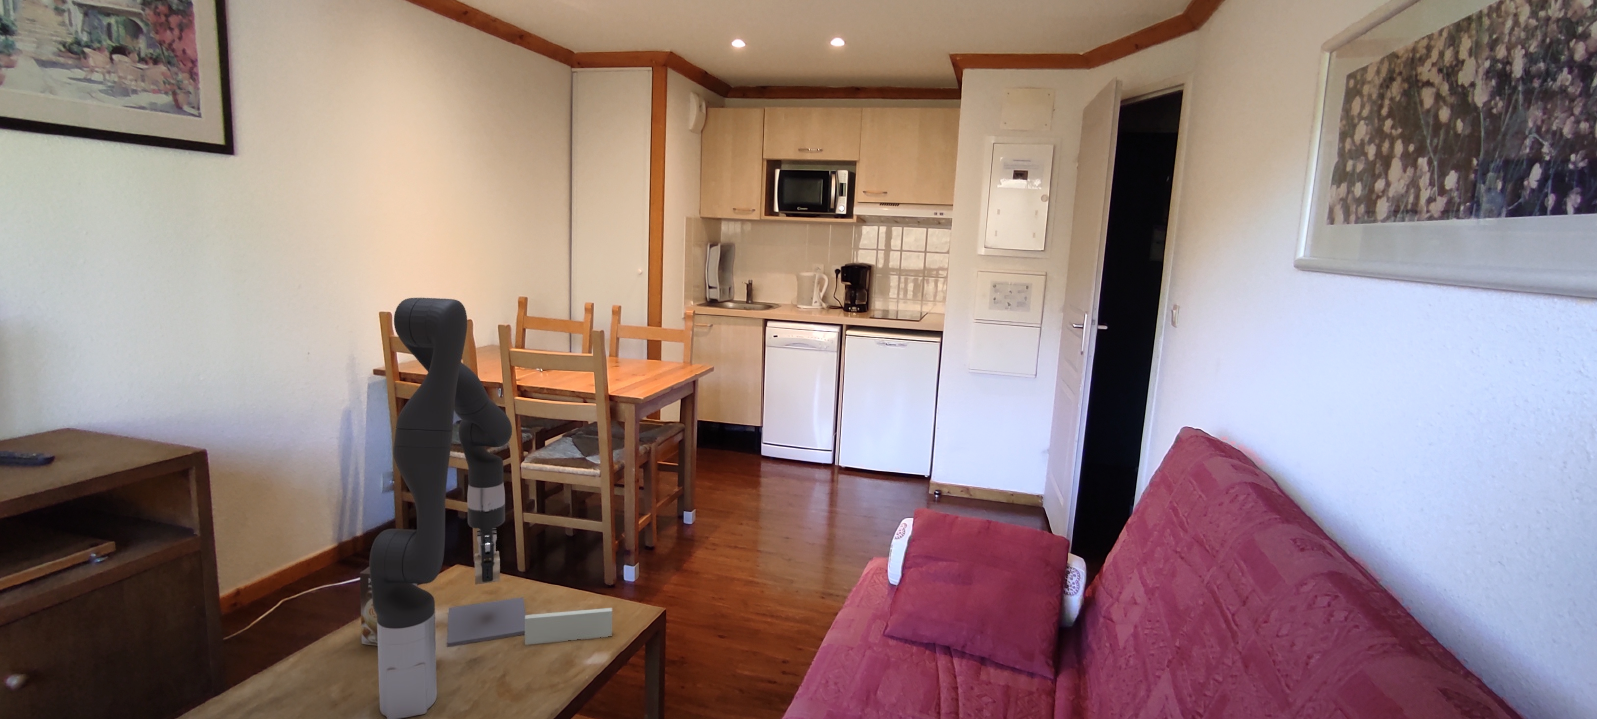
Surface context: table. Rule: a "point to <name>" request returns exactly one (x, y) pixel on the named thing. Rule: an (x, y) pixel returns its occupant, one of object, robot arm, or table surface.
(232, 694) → the table surface
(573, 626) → the screen
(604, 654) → the table surface
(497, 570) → the letter cube
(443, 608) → the table surface
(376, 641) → the coffee box
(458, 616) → the mat
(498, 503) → the robot arm
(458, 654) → the table surface
